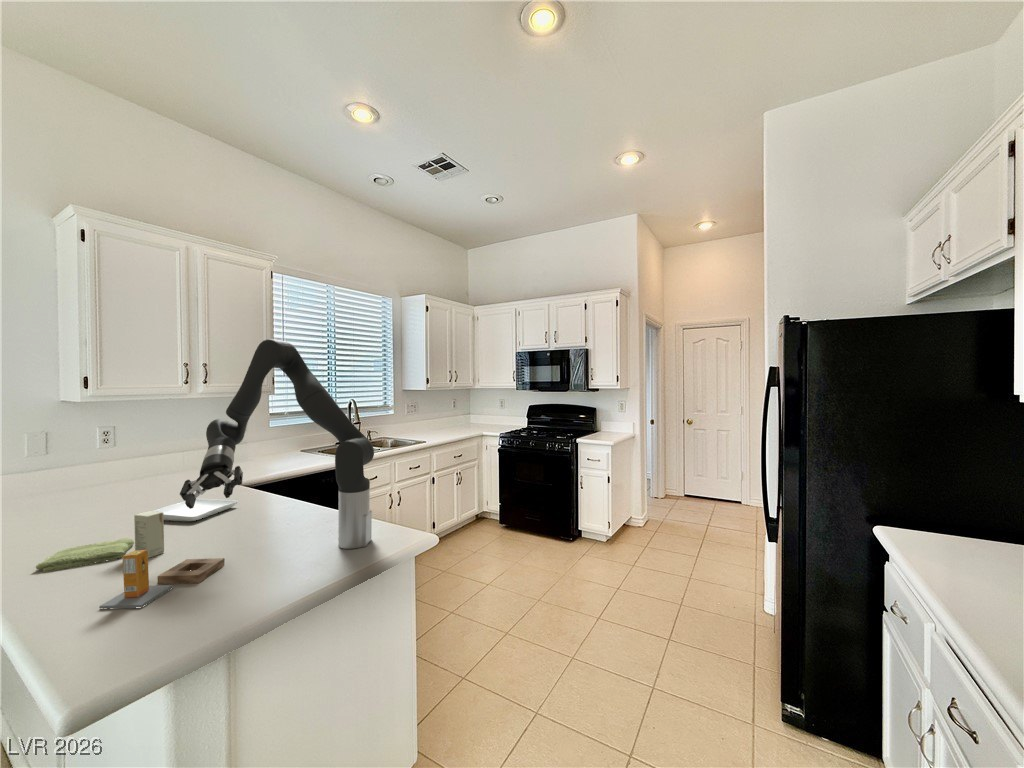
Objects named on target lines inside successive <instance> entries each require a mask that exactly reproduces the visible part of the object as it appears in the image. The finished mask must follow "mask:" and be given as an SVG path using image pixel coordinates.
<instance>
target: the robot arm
mask: <svg viewBox="0 0 1024 768" xmlns="http://www.w3.org/2000/svg"><path fill="white" fill-rule="evenodd" d="M272 369H279V370H281V371H282V372H283V373H284V374H285V375H286V376H287V378H288V379H289V380H290V382H291V383H292V385H293V389H294V393H295V394H294V395H295V398H296V399H295V400H296V402H297V403H298V405H299V406H300V408H301V409H302V411H303V412H304V413H305V415H306V416H307V417H308V418H309V419H310V420H311V421H312V422H313V423H315V424H317V425H318V426H319V427H321V428H322V429H324V430H326V432H329V433H330V434H331V435H333V437H334V438H335V439H336V440H337V441H338V442H339V444H338V445H337V447H336V449H335V453H334V464H335V465H334V467H335V468H334V469H335V480H336V483H337V486H338V539H337V540H338V547H339V548H341V549H346V550H350V549H351V550H352V549H358V548H363V547H367V546H368V544H369V543H370V542H371V541H372V530H373V529H372V527H373V526H372V511H373V510H371V508H370V507H371V506H370V505H371V504H370V503H371V502H370V497H371V496H370V495H371V492H370V490H371V489H370V487H371V485H370V484H371V483H370V482H371V481H370V479H369V478H368V477H365V473H364V472H365V471H364V466H365V465H367V464H369V463H370V462H372V461H373V460H374V459H373V458H374V455H375V449H374V446H373V444H372V442H371V441H370V440H369V439H368V438H367V437H366V436H365V435H364V434H363V433H362V432H361V431H360V430H359V429H358V428H357V427H356V425H354V424H353V423H352V421H351V420H350V418H349V417H348V416H347V415H346V413H345V412H344V411H343V410H342V408H341V407H340V406H339V405H338V404H337V402H336V401H335V399H334V398H333V397H332V396H331V394H330V393H329V392H328V390H327V389H326V388H325V386H323V385H322V384H321V382H320V381H319V380H318V378H317V377H316V376H315V374H314V373H313V372H312V371H311V369H309V367H308V366H307V364H306V363H305V360H304V359H303V357H302V356H301V354H300V353H299V351H298V349H297V348H296V347H295V346H294V345H293V344H292V343H291V342H289V341H284V340H279V339H273V338H269V339H268V338H267V339H264V340H262V341H261V342H260V343H259V344H258V345H257V348H256V350H255V351H254V354H253V356H252V359H251V361H250V364H249V366H248V369H247V371H246V373H245V376H244V378H243V381H242V383H241V385H240V386H239V389H238V390H237V392H236V394H235V395H234V397H233V398H232V399H231V401H230V403H229V404H228V406H227V408H226V411H225V415H227V417H228V418H230V419H231V420H232V421H234V422H236V423H234V422H231V421H228V420H225V419H222V418H217V419H213V420H212V421H211V422H209V424H208V425H207V427H206V432H205V434H206V441H207V444H208V445H207V446H208V447H207V450H206V453H205V455H204V457H203V460H202V463H201V466H200V470H199V477H198V478H196V479H195V480H192V481H191V480H190V479H186V480H185V481H184V483H183V485H182V488H181V489H180V492H179V496H180V497H181V498H182V500H183V502H184V501H186V502H185V504H186V506H187V507H189V508H190V509H191V508H194V504H195V501H196V499H198V497H199V496H200V495H204V494H205V493H206V492H207V491H209V490H211V489H215V488H219V487H220V488H221V486H223V487H224V488H223V495H224V497H225V498H226V499H228V498H230V497H231V495H233V491H234V488H235V487H237V486H242V484H243V477H244V475H243V474H244V472H243V470H242V468H241V466H240V465H236V466H235V467H234V469H233V465H234V462H235V453H236V448H237V447H236V446H237V445H239V444H240V443H241V442H242V441H243V440H244V438H245V433H246V430H247V426H248V422H249V420H250V417H251V416H253V415H252V414H253V413H254V411H255V409H256V408H257V407H258V405H259V403H260V401H261V398H262V393H263V392H262V390H263V385H264V381H265V378H266V377H267V375H268V374H269V372H271V370H272ZM232 476H233V479H230V478H231V477H232ZM201 488H202V489H201Z"/></svg>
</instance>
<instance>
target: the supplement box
mask: <svg viewBox="0 0 1024 768" xmlns="http://www.w3.org/2000/svg"><path fill="white" fill-rule="evenodd" d="M122 571H123V573H122V575H123V592H124V598H134V597H139V596H141V595H142V594H144V593H145V592H147V591H148V590H149V586H150V583H149V582H150V580H149V579H150V578H149V558H148V551H147V550H137V551H135V550H133V551H130V552H129V553H126V554H125V555H124V556H123V557H122Z"/></svg>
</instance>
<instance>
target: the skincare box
mask: <svg viewBox="0 0 1024 768" xmlns="http://www.w3.org/2000/svg"><path fill="white" fill-rule="evenodd" d="M164 521H165V520H164V519H163V512H156V511H154V510H149V511H144V512H141V513H137V514H134V551H137V550H147V551H148V559H149V558H151V557H155V556H158V555H161V554H163V553H165V531H164V525H165V523H164Z"/></svg>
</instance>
